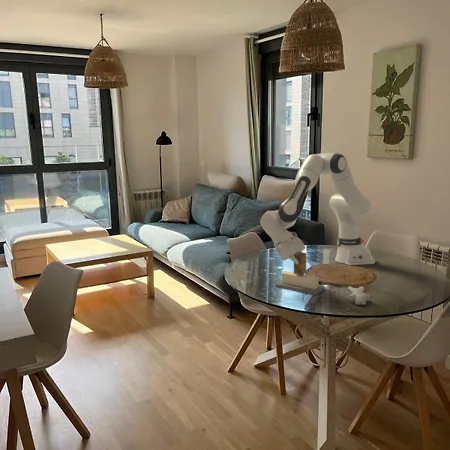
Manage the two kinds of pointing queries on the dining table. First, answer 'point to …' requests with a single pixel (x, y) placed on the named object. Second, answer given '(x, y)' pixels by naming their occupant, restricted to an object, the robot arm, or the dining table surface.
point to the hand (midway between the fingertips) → (301, 261)
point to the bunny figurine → (358, 295)
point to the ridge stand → (300, 283)
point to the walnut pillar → (300, 267)
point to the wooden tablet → (362, 286)
